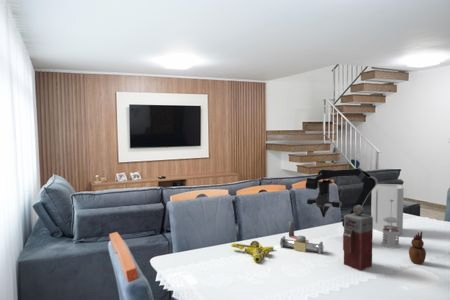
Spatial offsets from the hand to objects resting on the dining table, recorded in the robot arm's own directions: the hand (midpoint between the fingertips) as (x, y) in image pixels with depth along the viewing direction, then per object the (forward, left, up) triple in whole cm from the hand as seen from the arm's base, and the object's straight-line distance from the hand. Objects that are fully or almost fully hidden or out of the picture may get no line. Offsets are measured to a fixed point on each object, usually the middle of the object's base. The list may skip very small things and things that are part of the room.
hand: (323, 217), depth 192 cm
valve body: (+4, +25, -12) cm, 28 cm away
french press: (-34, -8, -12) cm, 37 cm away
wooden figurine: (-48, +13, -12) cm, 51 cm away
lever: (+7, +24, -7) cm, 26 cm away
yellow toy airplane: (+21, +46, -13) cm, 52 cm away
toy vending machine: (-25, +32, -12) cm, 42 cm away
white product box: (-31, -36, -12) cm, 49 cm away
